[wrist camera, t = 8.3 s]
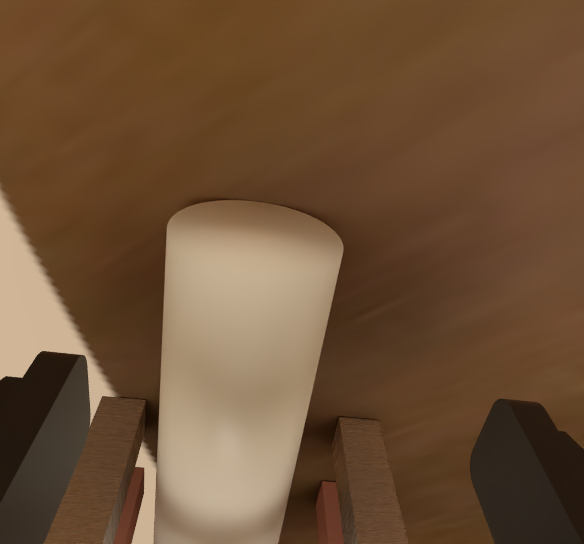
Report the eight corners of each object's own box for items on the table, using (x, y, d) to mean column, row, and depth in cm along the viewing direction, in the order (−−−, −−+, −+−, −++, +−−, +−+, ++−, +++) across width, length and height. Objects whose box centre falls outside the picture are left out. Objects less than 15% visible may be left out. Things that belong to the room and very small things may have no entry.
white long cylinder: (207, 186, 15) (125, 246, 11) (358, 223, 15) (329, 300, 11) (179, 530, 23) (125, 639, 19) (279, 565, 22) (244, 686, 18)
